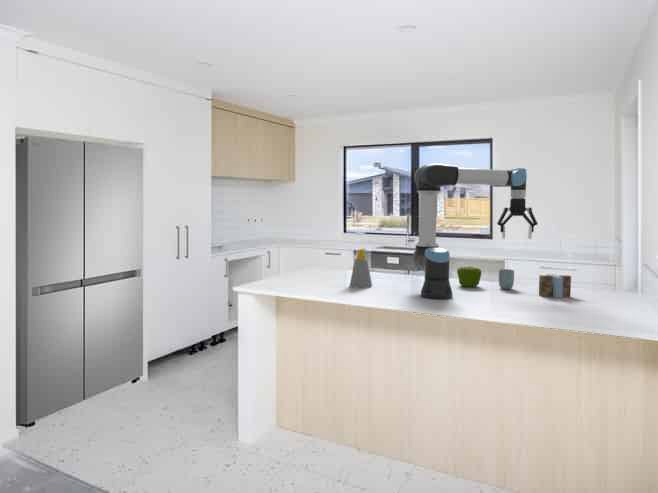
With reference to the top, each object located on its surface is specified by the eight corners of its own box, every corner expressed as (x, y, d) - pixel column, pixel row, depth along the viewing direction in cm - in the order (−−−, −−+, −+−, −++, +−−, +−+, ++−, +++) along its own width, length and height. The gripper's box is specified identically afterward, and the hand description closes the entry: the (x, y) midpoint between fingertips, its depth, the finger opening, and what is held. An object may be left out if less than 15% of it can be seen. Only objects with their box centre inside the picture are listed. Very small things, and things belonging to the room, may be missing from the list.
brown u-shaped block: (540, 296, 245) (541, 276, 244) (538, 295, 248) (539, 275, 247) (570, 296, 244) (571, 276, 243) (567, 295, 247) (568, 275, 246)
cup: (514, 290, 261) (515, 271, 260) (499, 289, 263) (499, 271, 262) (512, 287, 269) (513, 269, 268) (497, 287, 270) (497, 269, 270)
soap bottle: (376, 285, 277) (376, 248, 275) (365, 288, 266) (365, 250, 265) (356, 283, 284) (356, 247, 282) (345, 286, 273) (345, 249, 271)
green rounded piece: (485, 286, 272) (486, 266, 271) (470, 289, 265) (470, 267, 264) (467, 283, 283) (467, 263, 282) (452, 285, 276) (452, 265, 275)
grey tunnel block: (546, 293, 252) (547, 274, 251) (552, 293, 252) (553, 274, 251) (555, 298, 240) (556, 277, 239) (562, 298, 240) (563, 277, 239)
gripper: (495, 198, 259) (494, 238, 261) (545, 198, 258) (543, 239, 260) (491, 198, 267) (490, 237, 269) (539, 198, 265) (538, 238, 267)
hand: (516, 238), depth 264 cm, fingers open, 13 cm apart
